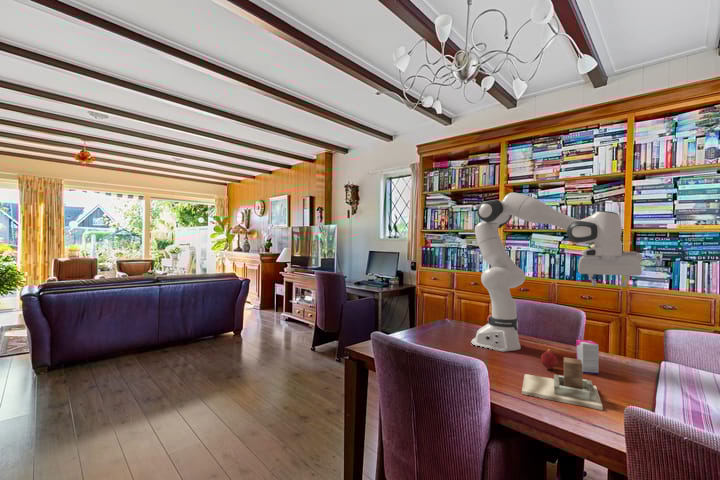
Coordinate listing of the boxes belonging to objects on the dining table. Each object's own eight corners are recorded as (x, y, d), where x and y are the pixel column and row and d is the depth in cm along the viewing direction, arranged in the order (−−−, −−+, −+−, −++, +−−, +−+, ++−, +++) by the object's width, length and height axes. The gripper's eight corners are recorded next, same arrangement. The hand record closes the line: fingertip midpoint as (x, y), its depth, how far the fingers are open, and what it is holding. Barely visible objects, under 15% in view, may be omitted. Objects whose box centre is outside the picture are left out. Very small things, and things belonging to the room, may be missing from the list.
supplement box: (599, 374, 126) (599, 344, 126) (582, 373, 127) (581, 343, 127) (592, 368, 132) (591, 340, 132) (575, 367, 133) (575, 339, 133)
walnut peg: (564, 392, 109) (564, 361, 109) (564, 386, 113) (563, 357, 114) (582, 395, 107) (582, 364, 107) (581, 389, 111) (581, 359, 111)
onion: (551, 373, 128) (551, 352, 128) (537, 368, 133) (537, 348, 133) (560, 370, 130) (560, 350, 131) (546, 365, 136) (546, 346, 136)
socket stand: (521, 394, 111) (521, 383, 111) (524, 377, 124) (524, 367, 124) (602, 410, 100) (602, 397, 100) (596, 389, 113) (595, 378, 113)
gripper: (639, 251, 129) (640, 286, 129) (577, 251, 139) (577, 283, 139) (643, 251, 123) (644, 288, 123) (578, 251, 133) (579, 285, 133)
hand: (608, 286), depth 131 cm, fingers open, 8 cm apart
